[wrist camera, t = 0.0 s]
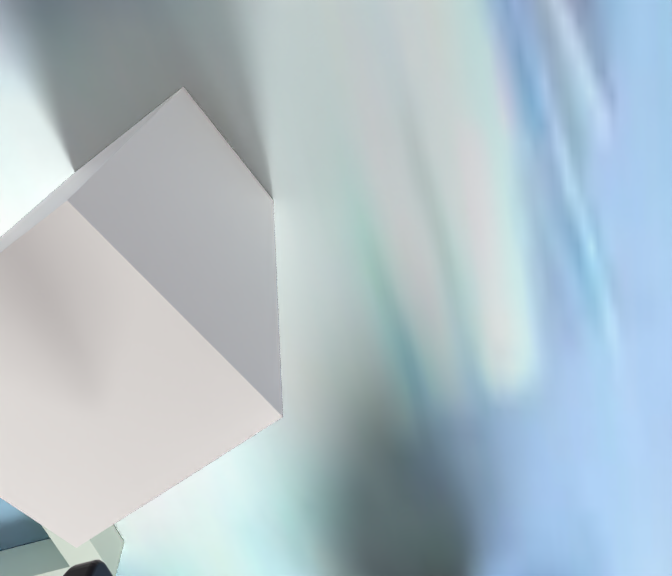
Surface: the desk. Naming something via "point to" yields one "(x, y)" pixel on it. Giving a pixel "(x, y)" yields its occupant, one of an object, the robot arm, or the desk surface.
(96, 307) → the white upright block
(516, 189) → the desk surface
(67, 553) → the socket board
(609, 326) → the desk surface
